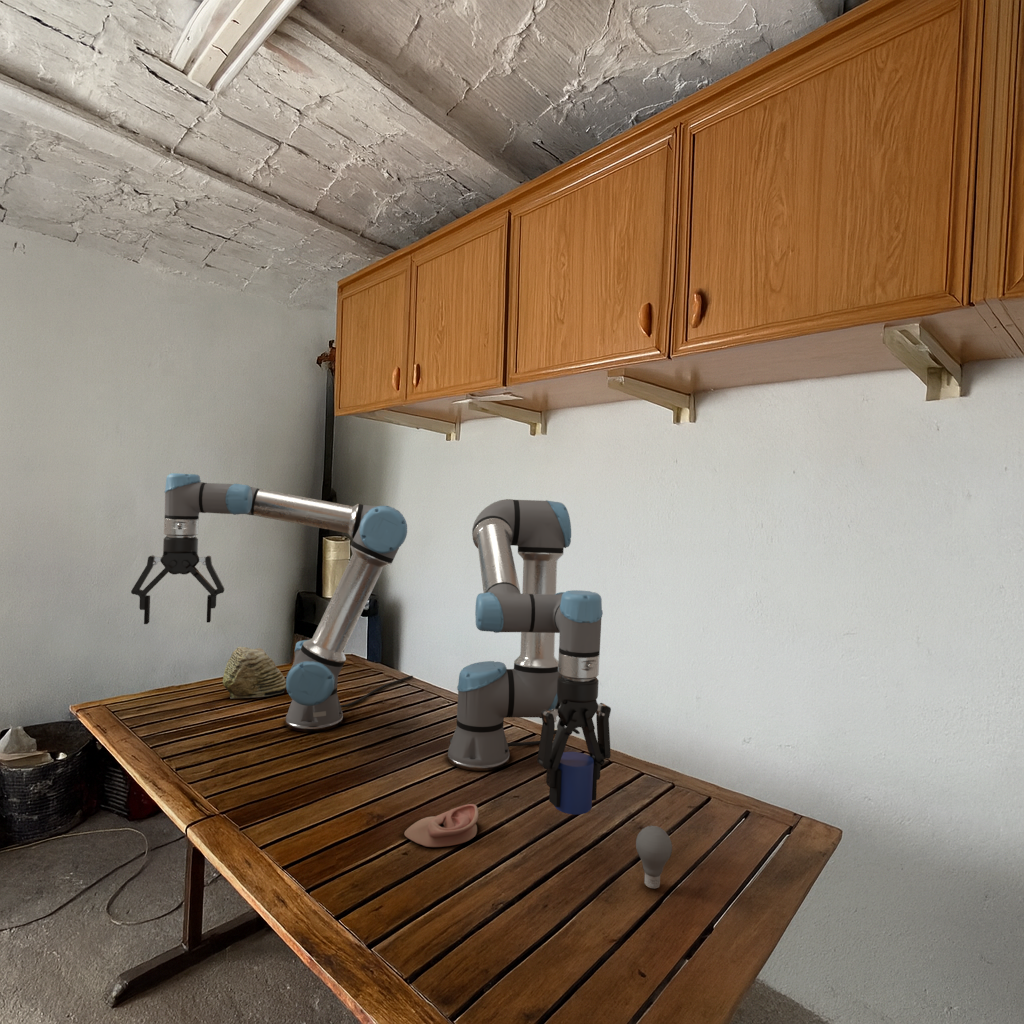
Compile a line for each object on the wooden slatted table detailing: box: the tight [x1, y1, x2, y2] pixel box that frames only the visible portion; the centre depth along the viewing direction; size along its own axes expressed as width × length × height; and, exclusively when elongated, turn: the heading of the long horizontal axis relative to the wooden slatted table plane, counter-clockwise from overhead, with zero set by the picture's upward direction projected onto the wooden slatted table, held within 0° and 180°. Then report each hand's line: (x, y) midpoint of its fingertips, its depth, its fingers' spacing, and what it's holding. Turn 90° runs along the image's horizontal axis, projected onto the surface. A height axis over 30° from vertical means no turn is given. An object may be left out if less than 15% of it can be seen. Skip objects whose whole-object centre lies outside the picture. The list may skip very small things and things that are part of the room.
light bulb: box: [635, 825, 673, 889], centre depth 107 cm, size 6×6×10 cm
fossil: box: [222, 646, 287, 699], centre depth 198 cm, size 9×18×15 cm, turn 132°
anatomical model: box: [404, 803, 479, 848], centre depth 121 cm, size 13×4×12 cm
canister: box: [554, 751, 594, 816], centre depth 116 cm, size 7×7×9 cm
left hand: (178, 622), depth 156 cm, fingers open, 13 cm apart
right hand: (572, 800), depth 116 cm, fingers closed on canister, 7 cm apart
